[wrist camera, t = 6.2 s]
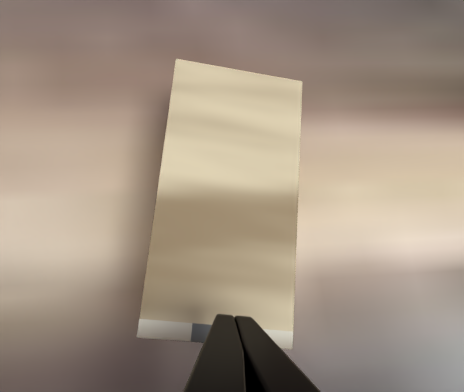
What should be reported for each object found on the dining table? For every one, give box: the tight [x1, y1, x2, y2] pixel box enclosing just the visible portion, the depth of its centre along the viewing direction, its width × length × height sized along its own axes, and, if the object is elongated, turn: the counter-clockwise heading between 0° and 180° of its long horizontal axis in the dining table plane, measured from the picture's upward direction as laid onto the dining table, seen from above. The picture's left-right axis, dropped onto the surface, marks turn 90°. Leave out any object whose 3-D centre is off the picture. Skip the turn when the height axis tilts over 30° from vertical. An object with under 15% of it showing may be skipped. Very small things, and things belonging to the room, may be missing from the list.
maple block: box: [137, 59, 302, 349], centre depth 15 cm, size 4×4×9 cm
